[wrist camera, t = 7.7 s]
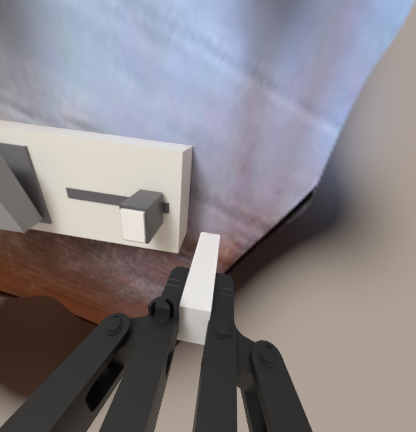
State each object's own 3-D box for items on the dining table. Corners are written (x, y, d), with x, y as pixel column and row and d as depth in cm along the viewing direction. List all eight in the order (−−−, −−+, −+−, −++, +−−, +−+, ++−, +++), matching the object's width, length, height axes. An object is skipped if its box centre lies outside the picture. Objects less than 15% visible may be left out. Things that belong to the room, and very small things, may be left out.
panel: (-3, 201, 28) (-49, 217, 24) (-43, 114, 23) (-115, 111, 18) (186, 231, 27) (177, 254, 22) (192, 146, 21) (181, 152, 17)
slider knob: (142, 219, 20) (121, 241, 17) (140, 189, 19) (116, 206, 15) (162, 222, 20) (147, 245, 16) (162, 192, 19) (145, 210, 15)
